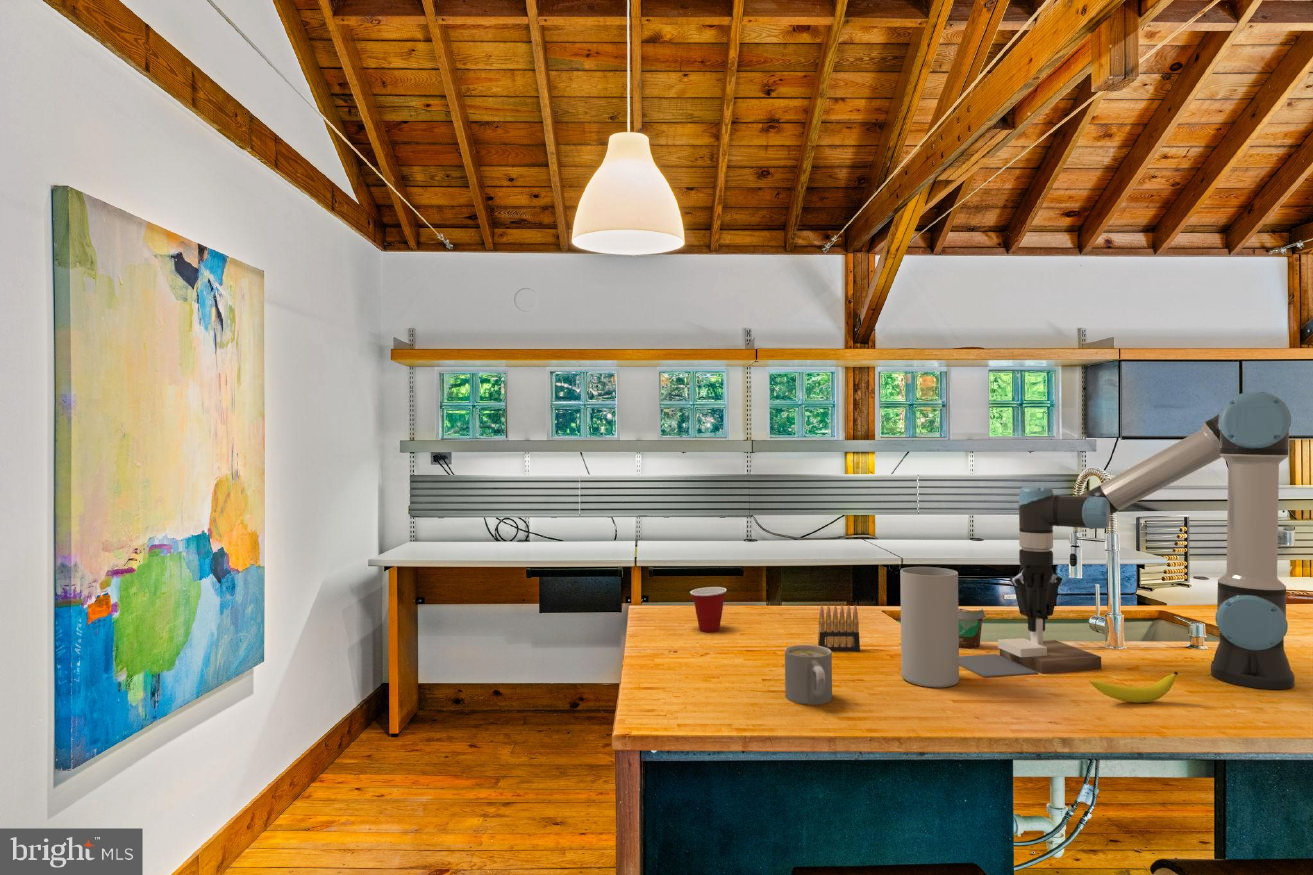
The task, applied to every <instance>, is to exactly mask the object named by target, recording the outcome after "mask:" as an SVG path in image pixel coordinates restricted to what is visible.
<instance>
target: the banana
mask: <svg viewBox="0 0 1313 875" xmlns="http://www.w3.org/2000/svg"><path fill="white" fill-rule="evenodd" d="M1178 674H1179V671H1174V673H1172V674H1169V675H1167V676H1165V677H1163V678H1161V679H1160V680H1159V681H1157V682H1156V683H1153V684H1151V685H1149V686H1141V687H1140V686H1122V685H1117V684H1112V683H1108V682H1103V681H1098V680H1094V679H1093V680H1089V683H1090V684H1091V685H1092V687H1093V688H1095V689H1096V690H1097V691H1098V692H1100V693H1102V694H1103V695H1104V696H1106V697H1109V698H1111V699H1114V700H1118V701H1123V702H1128V703H1132V704H1135V703H1136V704H1137V703H1138V704H1141V703H1143V704H1144V703H1150V702H1155V701H1157V700H1159V699H1161V698H1162V697H1164V696H1165V695H1166V694H1167V693H1168V692H1169V691H1170V690H1171V688H1172V686H1173V684H1174V683H1175V680H1176V676H1177V675H1178Z"/></svg>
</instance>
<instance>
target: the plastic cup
mask: <svg viewBox="0 0 1313 875" xmlns="http://www.w3.org/2000/svg"><path fill="white" fill-rule="evenodd" d="M726 592H727V588H725V587H722V586H707V587H701V588H700V587H699V588H695V589H693V590H691V591H689V593H690V595H691V596H692V601H693V602H694V608H695V614H696V618H697V619H696V620H697V624H698V628H699V631H700V632H703V633H715V632H716V633H717V632H719V630H720V628H721V622H722V618H723V617H722V615H723V610H724V602H725V597H726Z"/></svg>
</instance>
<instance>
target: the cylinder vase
mask: <svg viewBox="0 0 1313 875" xmlns="http://www.w3.org/2000/svg"><path fill="white" fill-rule="evenodd" d="M899 573H900V574H899V575H900V576H899V577H900V641H901V642H900V646H901V647H900V648H901V649H900V651H901V652H900V656H901V658H900V659H901V660H900V662H901V666H900V667H901V668H900V669H901V676H902V678H903V679H904V680H905V681H906V682H908V683H910V684H913V685H915V686H920V687H926V688H938V689H939V688H941V689H942V688H948V687H953V686H955V685H957V684H958V683H959V681H960V666H959V656H960V648H959V623H958V609H959V573H958V571H956V570H954V569H949V568H942V567H933V566H931V567H930V566H913V567H912V566H911V567H904V568H901V569H900V572H899Z"/></svg>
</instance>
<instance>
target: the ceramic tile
mask: <svg viewBox="0 0 1313 875" xmlns="http://www.w3.org/2000/svg"><path fill="white" fill-rule="evenodd" d="M997 648H998V649H999V650H1000V649H1002V650H1005V651H1007V652H1009V653H1012V654H1014V655H1017V656H1019V657H1035V656H1047V647H1045V646H1042V645H1039V644H1037V643H1034V642H1032V641H1030V640H1029V639H1027V638H1024V637H1020V638H1018V637H1017V638H1006V639H1005V638H1003V639H997Z"/></svg>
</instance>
